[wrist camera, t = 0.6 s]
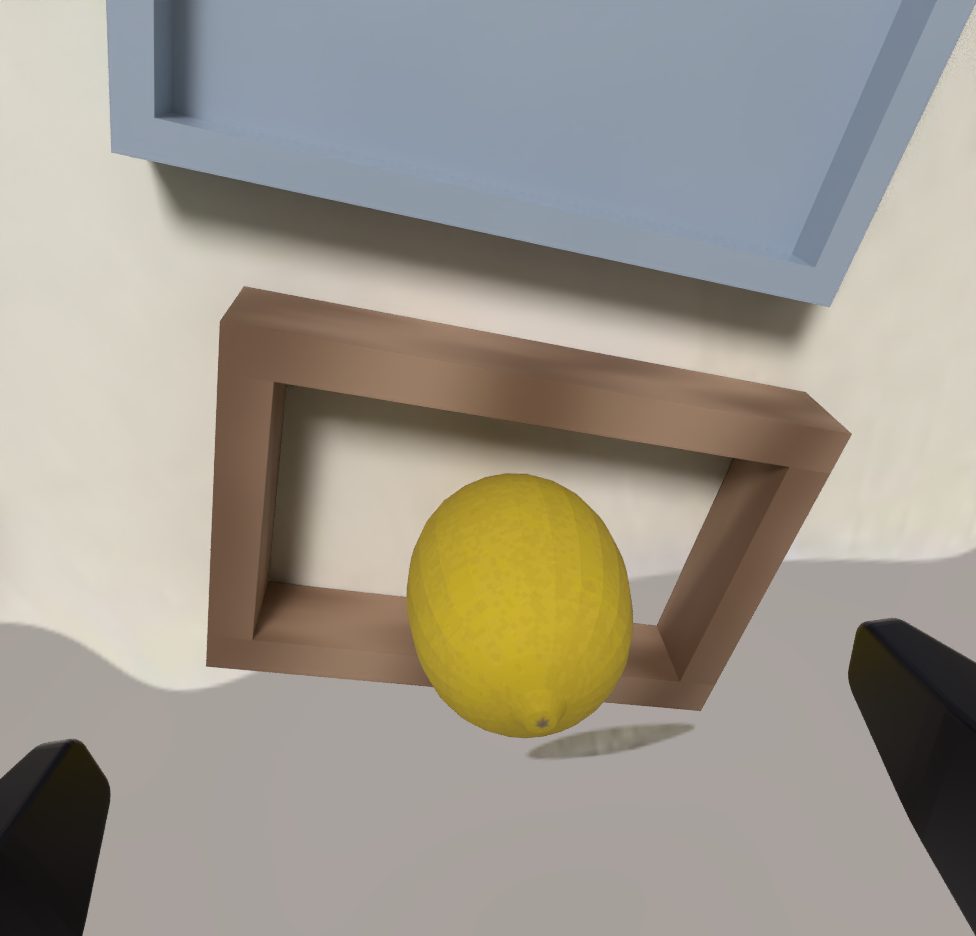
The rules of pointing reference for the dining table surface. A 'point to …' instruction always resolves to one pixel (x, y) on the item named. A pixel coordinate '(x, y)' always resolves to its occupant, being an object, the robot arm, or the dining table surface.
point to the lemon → (519, 606)
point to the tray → (554, 117)
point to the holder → (514, 397)
